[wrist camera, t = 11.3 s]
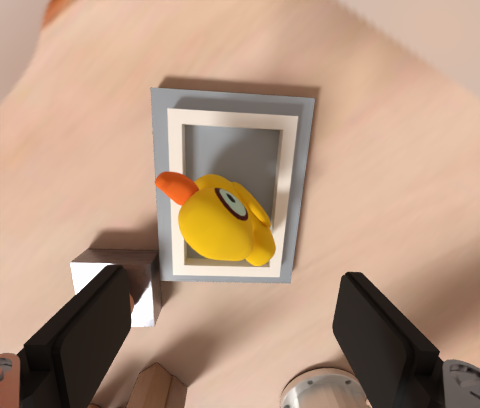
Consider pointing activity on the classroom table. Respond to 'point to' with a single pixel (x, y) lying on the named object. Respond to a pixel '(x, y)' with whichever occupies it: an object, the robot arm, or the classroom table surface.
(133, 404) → the wooden toy
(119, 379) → the classroom table surface
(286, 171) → the tray
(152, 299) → the button base
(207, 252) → the duckling
